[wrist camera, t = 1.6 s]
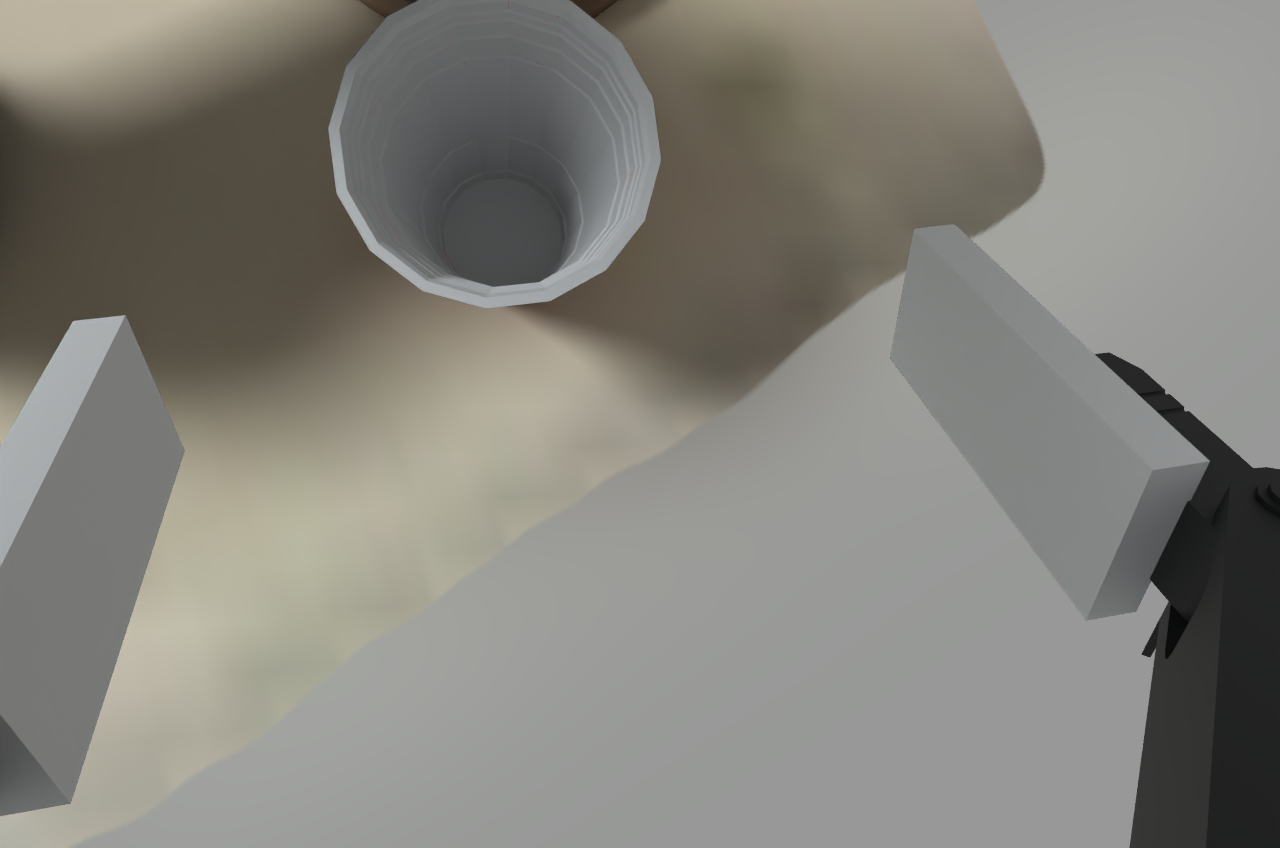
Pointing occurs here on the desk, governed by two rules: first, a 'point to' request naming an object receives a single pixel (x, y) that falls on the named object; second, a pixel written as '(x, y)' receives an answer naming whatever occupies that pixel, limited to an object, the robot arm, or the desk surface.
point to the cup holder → (388, 3)
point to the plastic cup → (494, 148)
